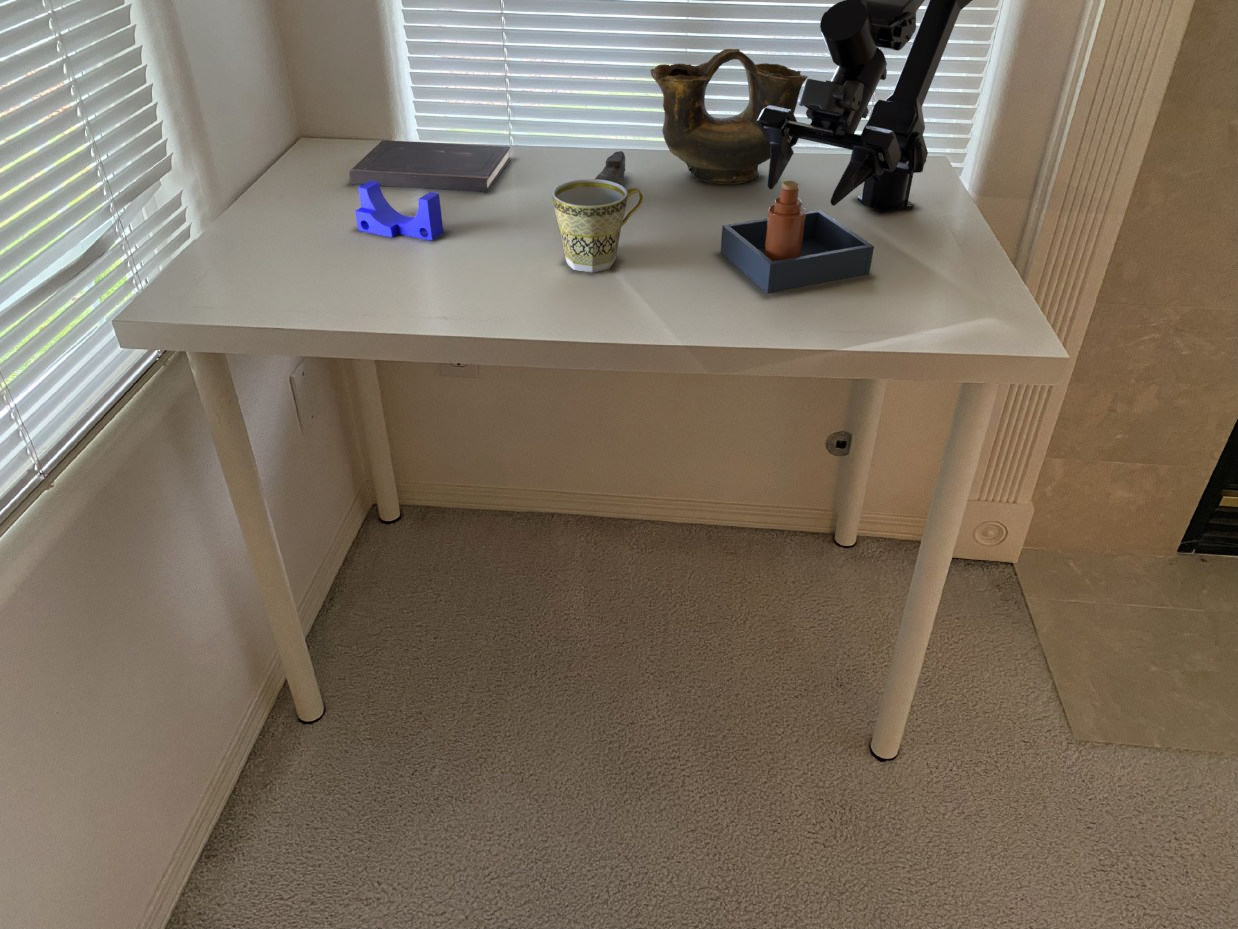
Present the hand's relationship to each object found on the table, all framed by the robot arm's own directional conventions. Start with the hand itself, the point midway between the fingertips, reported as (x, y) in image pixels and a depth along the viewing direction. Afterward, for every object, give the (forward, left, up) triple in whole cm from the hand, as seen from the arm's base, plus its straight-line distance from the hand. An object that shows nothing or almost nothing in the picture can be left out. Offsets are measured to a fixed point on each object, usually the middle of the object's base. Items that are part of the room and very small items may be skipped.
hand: (800, 195), depth 122 cm
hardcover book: (+37, -55, -11) cm, 68 cm away
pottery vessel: (-8, -36, -11) cm, 39 cm away
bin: (-1, -1, -10) cm, 10 cm away
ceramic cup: (+23, -12, -11) cm, 28 cm away
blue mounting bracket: (+47, -32, -11) cm, 58 cm away
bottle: (+3, +2, -10) cm, 10 cm away
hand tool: (+14, -35, -11) cm, 40 cm away
